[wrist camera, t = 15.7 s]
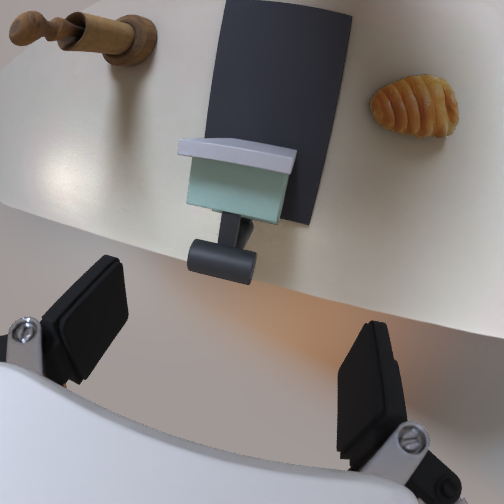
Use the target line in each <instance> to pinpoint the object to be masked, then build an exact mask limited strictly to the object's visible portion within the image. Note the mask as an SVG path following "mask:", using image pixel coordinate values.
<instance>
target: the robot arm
mask: <svg viewBox="0 0 504 504" xmlns="http://www.w3.org/2000/svg"><path fill="white" fill-rule="evenodd" d="M128 315H129V314H128V306H127V298H126V290H125V283H124V273H123V265H122V263H120V260H119V259H118V258H116V257H112V256H109V255H104V256H103V257H102V258H100V259H99V260H98V261H97V262H96V263H95V264H94V265H93V266H92V267H91V268H90V269H89V270H88V271H87V272H86V273H84V274H83V276H81V277H80V279H78V280H77V281H76V282H75V283H74V284H73V285H72V286H71V287H70V288H69V289H68V290H67V291H66V292H65V293H64V294H63V295H62V296H61V297H60V298H59V299H58V300H57V301H56V303H54V305H53V306H52V307H51V308H50V309H49V310H48V311H47V312H46V313H45V314H44V315H43V316H42V320H41V321H40V322H39V321H38V320H36V319H35V318H32V317H24V318H20V319H19V320H17V321H15V322H14V323H13V324H12V326H11V327H10V329H9V332H8V334H7V335H3V336H0V504H468V503H467V501H466V500H465V498H463V499H461V498H460V495H461V490H462V486H461V482H460V479H459V478H458V476H457V475H456V474H455V473H454V472H452V471H451V470H450V469H449V468H448V467H447V466H446V465H445V464H443V463H442V462H441V461H440V460H439V459H438V458H437V457H436V456H435V455H433V454H432V453H431V452H430V451H429V450H428V449H429V446H430V438H429V434H428V432H427V431H426V429H425V428H424V427H423V426H422V425H420V424H419V423H416V422H412V421H407V414H406V407H405V401H404V394H403V388H402V382H401V377H400V372H399V366H398V363H397V361H396V360H394V357H393V352H392V347H391V342H390V338H389V333H388V329H387V325H386V324H385V323H383V322H378V321H370V322H369V324H367V323H365V324H364V326H363V328H362V330H361V331H360V333H359V335H358V337H357V339H356V341H355V342H354V344H353V346H352V348H351V349H350V351H349V353H348V355H347V356H346V358H345V360H344V362H343V363H342V365H341V367H340V369H339V372H338V418H337V451H339V452H341V453H340V459H350V466H351V468H349V469H348V470H347V471H345V470H336V469H325V468H317V467H309V466H301V465H295V464H288V463H282V462H275V461H270V460H265V459H259V458H254V457H250V456H245V455H240V454H236V453H232V452H228V451H224V450H220V449H216V448H212V447H208V446H205V445H202V444H198V443H195V442H192V441H189V440H185V439H182V438H179V437H176V436H173V435H170V434H167V433H165V432H161V431H159V430H156V429H154V428H151V427H148V426H146V425H143V424H141V423H138V422H136V421H133V420H131V419H128V418H126V417H124V416H121V415H119V414H117V413H115V412H112V411H110V410H108V409H106V408H103V407H102V406H99V405H97V404H95V403H93V402H91V401H89V400H87V399H85V398H83V397H81V396H79V395H77V394H75V393H73V392H72V391H70V390H68V389H67V388H66V382H67V381H68V379H69V380H71V381H73V382H75V383H77V384H80V383H81V382H82V380H83V379H84V380H86V379H87V378H88V376H89V375H90V374H91V372H92V371H93V369H94V368H95V366H96V365H97V363H98V362H99V360H100V359H101V357H102V356H103V354H104V353H105V351H106V350H107V348H108V347H109V346H110V344H111V343H112V341H113V340H114V338H115V337H116V336H117V334H118V333H119V331H120V330H121V329H122V327H123V326H124V324H125V323H126V321H127V319H128Z"/></svg>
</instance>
